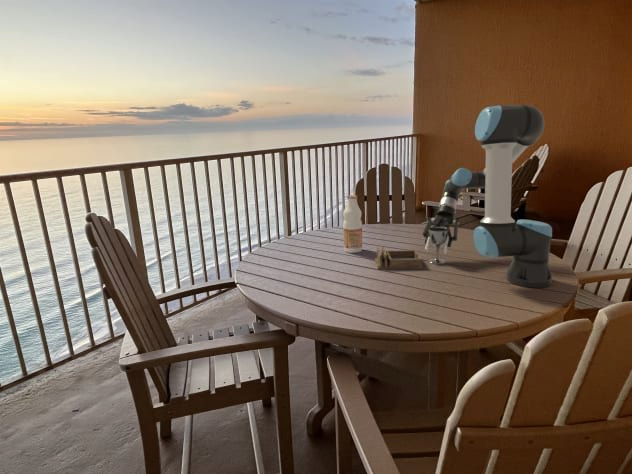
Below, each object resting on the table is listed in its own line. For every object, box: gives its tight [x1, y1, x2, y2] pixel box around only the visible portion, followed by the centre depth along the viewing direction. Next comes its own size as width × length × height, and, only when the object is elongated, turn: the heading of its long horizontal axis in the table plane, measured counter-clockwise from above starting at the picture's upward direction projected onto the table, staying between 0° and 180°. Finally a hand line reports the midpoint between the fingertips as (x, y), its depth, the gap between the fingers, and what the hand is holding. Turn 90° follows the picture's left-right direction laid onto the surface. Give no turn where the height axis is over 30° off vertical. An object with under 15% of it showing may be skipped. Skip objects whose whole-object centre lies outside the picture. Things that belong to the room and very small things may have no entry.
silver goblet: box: [428, 226, 449, 265], centre depth 169 cm, size 8×8×15 cm
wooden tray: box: [374, 246, 423, 270], centre depth 169 cm, size 14×19×6 cm
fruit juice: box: [342, 194, 363, 254], centre depth 189 cm, size 9×9×28 cm
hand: (435, 251), depth 167 cm, fingers closed on silver goblet, 7 cm apart
